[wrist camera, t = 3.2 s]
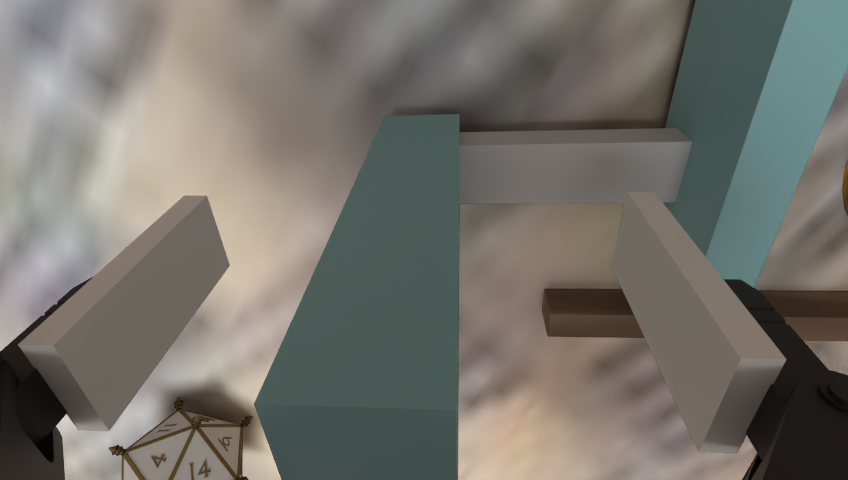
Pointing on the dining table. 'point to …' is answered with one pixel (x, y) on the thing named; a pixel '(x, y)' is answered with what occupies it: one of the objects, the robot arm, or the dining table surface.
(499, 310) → the dining table surface
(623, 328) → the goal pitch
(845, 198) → the burger
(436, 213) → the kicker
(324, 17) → the dining table surface
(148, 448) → the game die
